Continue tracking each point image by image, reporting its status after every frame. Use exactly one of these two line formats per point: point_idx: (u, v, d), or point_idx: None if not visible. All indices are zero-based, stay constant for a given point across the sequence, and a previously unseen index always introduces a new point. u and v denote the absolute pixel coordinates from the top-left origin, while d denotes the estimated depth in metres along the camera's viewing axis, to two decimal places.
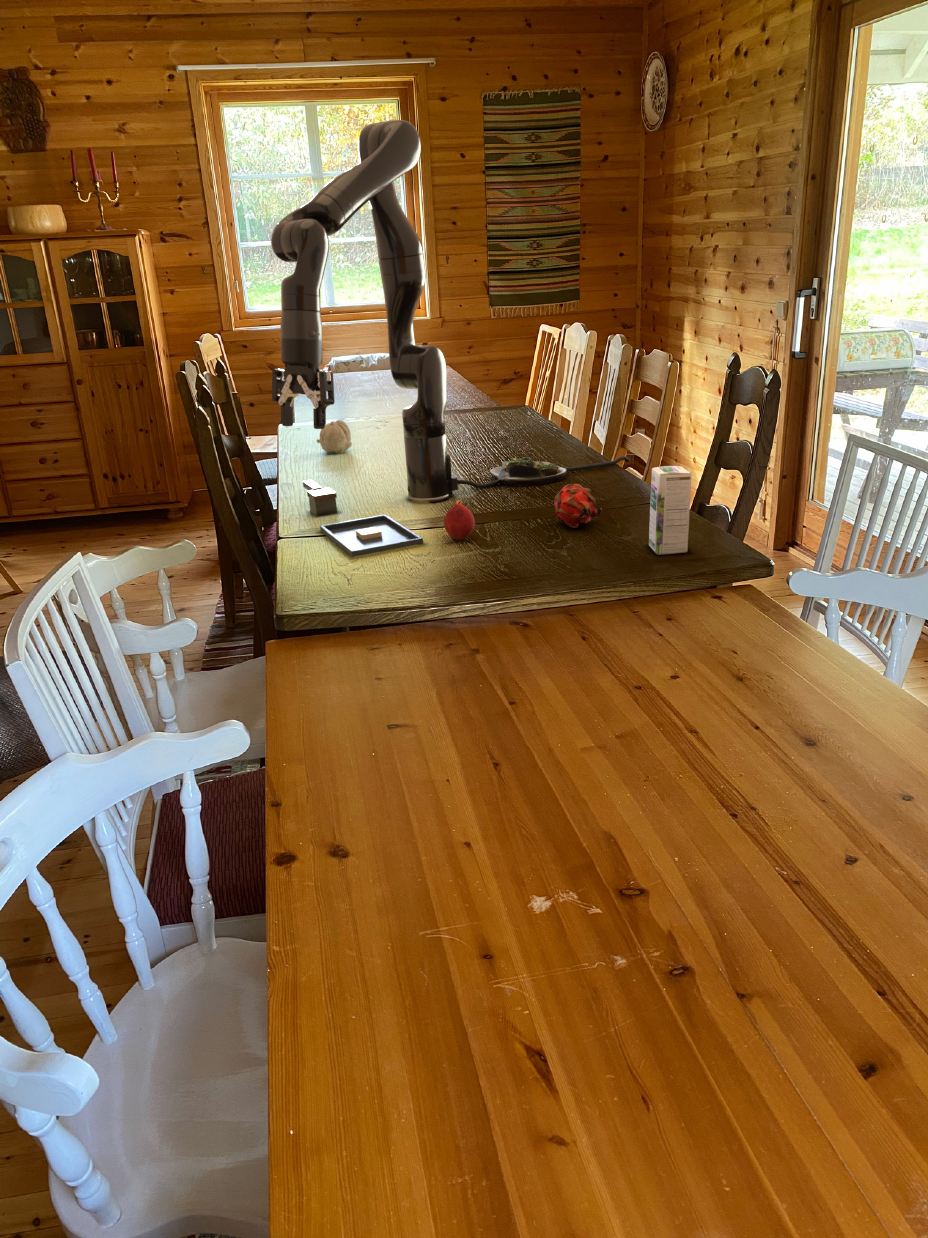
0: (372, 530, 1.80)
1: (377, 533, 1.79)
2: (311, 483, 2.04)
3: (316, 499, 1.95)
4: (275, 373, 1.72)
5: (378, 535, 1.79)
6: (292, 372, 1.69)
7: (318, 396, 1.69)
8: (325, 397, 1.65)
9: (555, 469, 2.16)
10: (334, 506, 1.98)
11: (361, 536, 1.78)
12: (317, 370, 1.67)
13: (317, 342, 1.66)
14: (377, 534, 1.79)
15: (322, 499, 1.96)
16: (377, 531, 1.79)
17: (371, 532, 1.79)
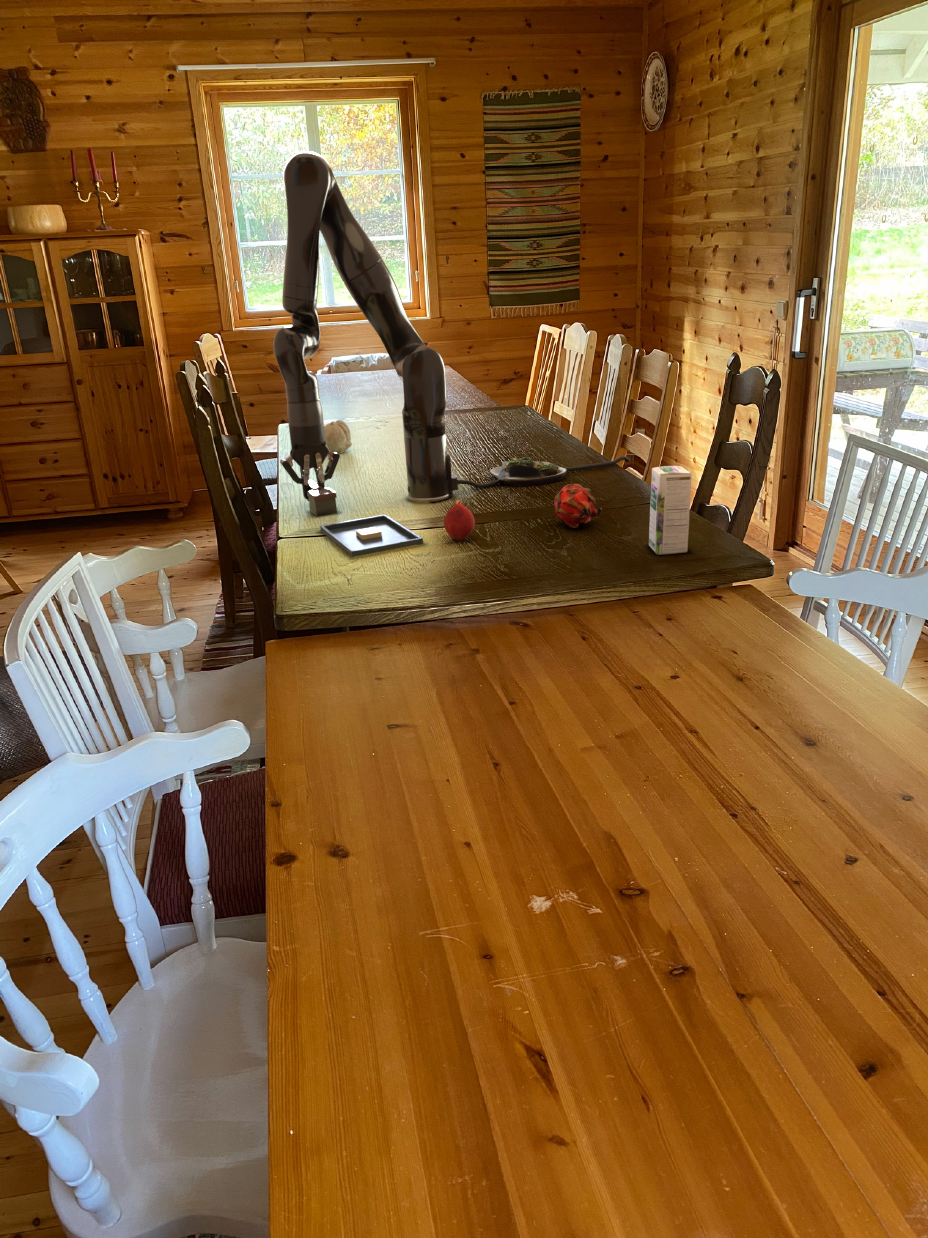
0: (372, 530, 1.80)
1: (377, 533, 1.79)
2: (311, 483, 2.04)
3: (316, 499, 1.95)
4: None
5: (378, 535, 1.79)
6: None
7: None
8: None
9: (555, 469, 2.16)
10: (334, 506, 1.98)
11: (361, 536, 1.78)
12: None
13: (290, 428, 1.96)
14: (377, 534, 1.79)
15: (322, 499, 1.96)
16: (377, 531, 1.79)
17: (371, 532, 1.79)
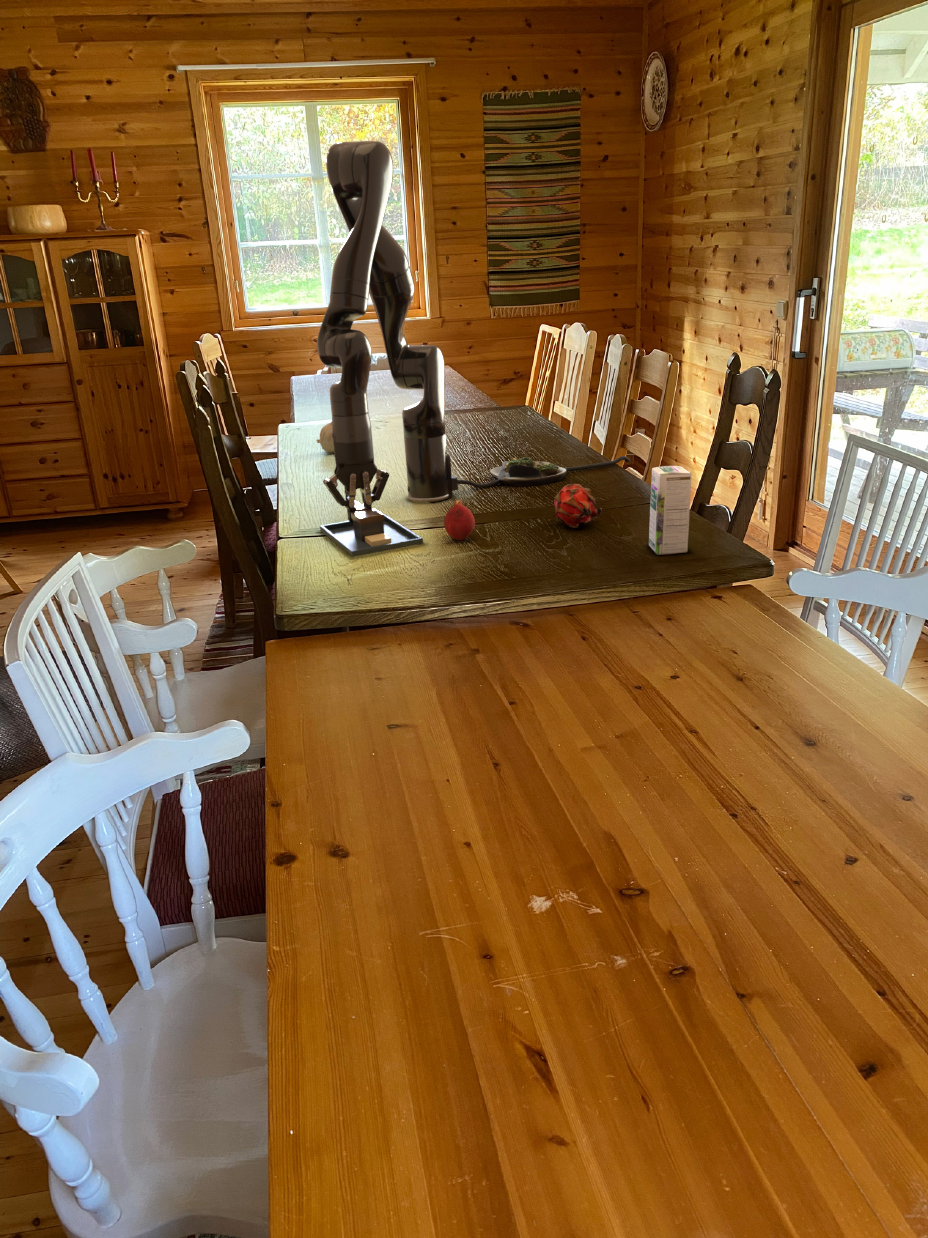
0: (381, 537, 1.75)
1: (387, 540, 1.74)
2: None
3: (362, 522, 1.75)
4: None
5: (388, 542, 1.74)
6: None
7: None
8: (335, 499, 1.80)
9: (555, 469, 2.16)
10: (381, 529, 1.78)
11: (370, 543, 1.74)
12: None
13: (335, 444, 1.75)
14: (387, 541, 1.74)
15: (368, 522, 1.76)
16: (387, 537, 1.75)
17: (380, 538, 1.74)
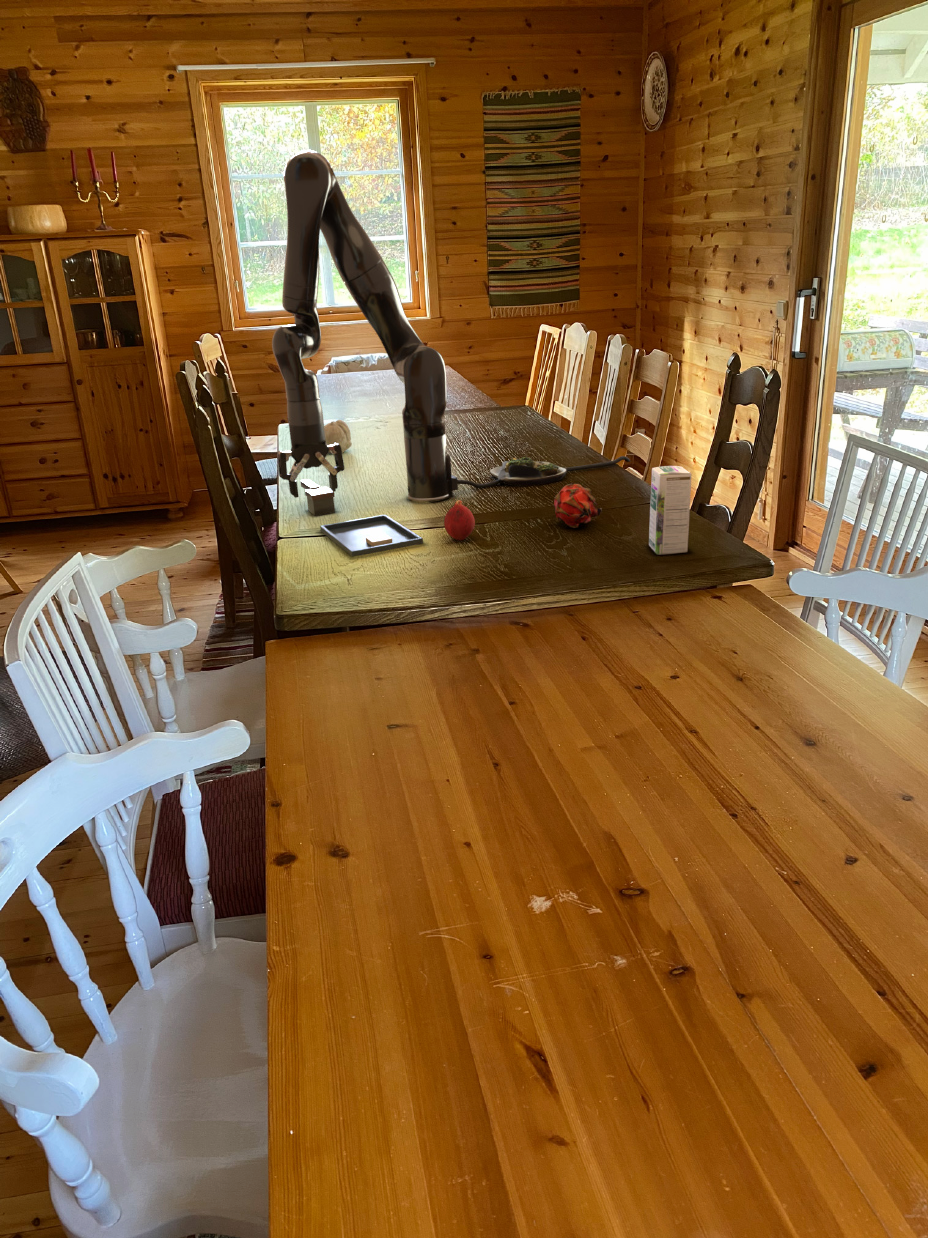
0: (382, 537, 1.75)
1: (388, 540, 1.74)
2: (309, 482, 2.05)
3: (314, 498, 1.96)
4: None
5: (389, 542, 1.74)
6: None
7: None
8: None
9: (555, 469, 2.16)
10: (332, 505, 1.98)
11: (371, 543, 1.73)
12: None
13: (290, 427, 1.96)
14: (388, 541, 1.74)
15: (320, 499, 1.97)
16: (388, 538, 1.75)
17: (381, 539, 1.74)
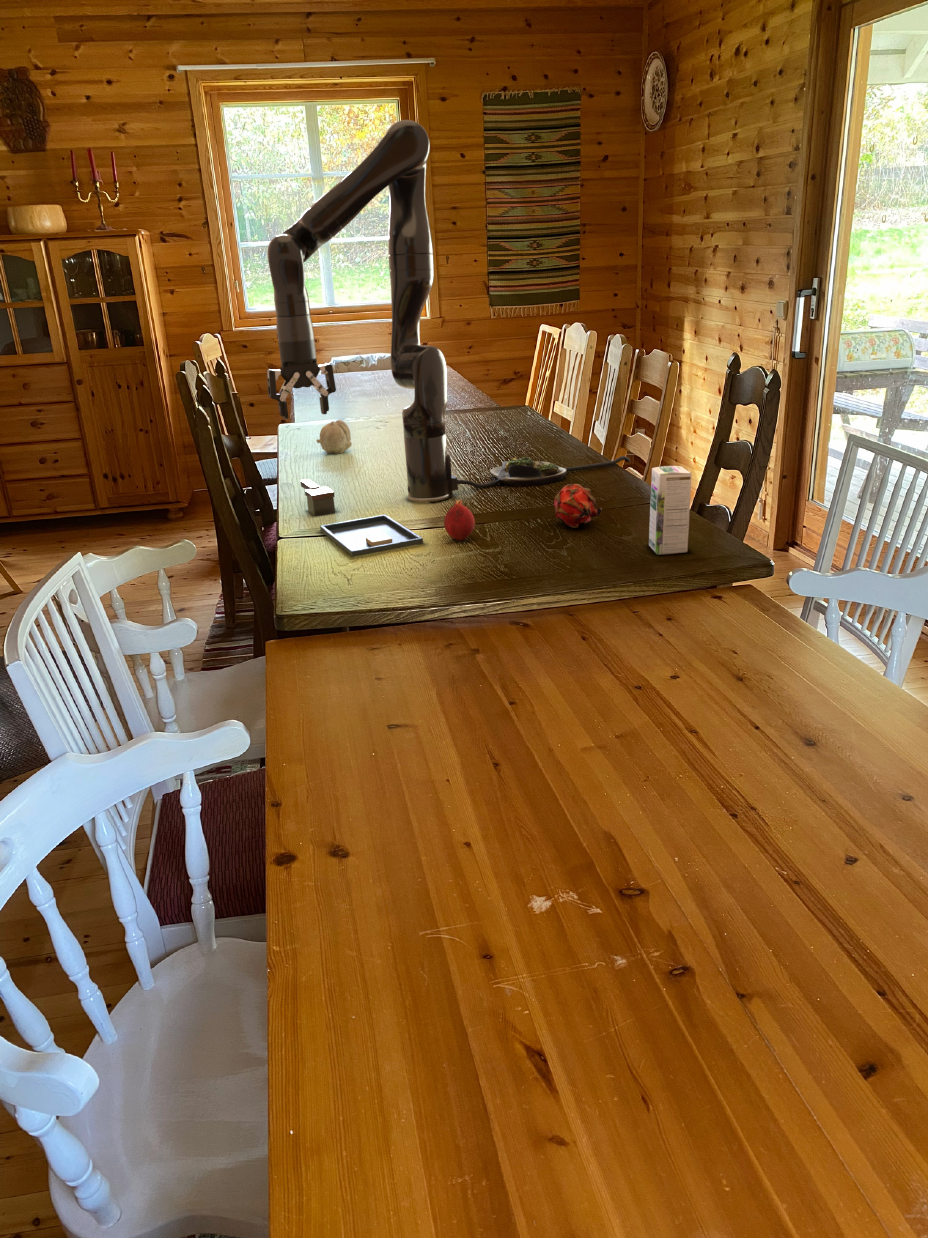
0: (382, 537, 1.75)
1: (388, 540, 1.74)
2: (309, 482, 2.05)
3: (314, 498, 1.96)
4: None
5: (389, 542, 1.74)
6: None
7: None
8: (268, 391, 1.93)
9: (555, 469, 2.16)
10: (332, 505, 1.98)
11: (371, 543, 1.73)
12: (282, 368, 1.92)
13: (279, 344, 1.90)
14: (388, 541, 1.74)
15: (320, 499, 1.97)
16: (388, 538, 1.75)
17: (381, 539, 1.74)
